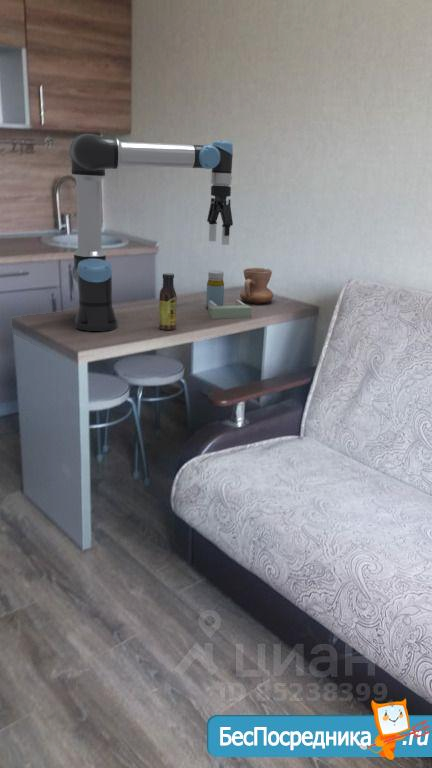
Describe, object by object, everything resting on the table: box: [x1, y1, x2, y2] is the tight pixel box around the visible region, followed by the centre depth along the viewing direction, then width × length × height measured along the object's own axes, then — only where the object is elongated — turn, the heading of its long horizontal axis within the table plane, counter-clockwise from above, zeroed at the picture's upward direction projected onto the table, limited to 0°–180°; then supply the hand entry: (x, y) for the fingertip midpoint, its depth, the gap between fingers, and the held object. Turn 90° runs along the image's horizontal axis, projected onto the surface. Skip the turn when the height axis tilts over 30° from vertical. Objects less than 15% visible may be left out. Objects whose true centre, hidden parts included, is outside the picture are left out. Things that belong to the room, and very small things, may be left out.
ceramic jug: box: [239, 267, 274, 305], centre depth 263 cm, size 18×14×14 cm
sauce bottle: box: [158, 272, 178, 331], centre depth 217 cm, size 7×6×20 cm
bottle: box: [205, 270, 225, 309], centre depth 250 cm, size 7×7×15 cm
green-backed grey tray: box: [207, 299, 252, 320], centre depth 242 cm, size 16×13×4 cm
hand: (218, 242), depth 234 cm, fingers open, 13 cm apart
